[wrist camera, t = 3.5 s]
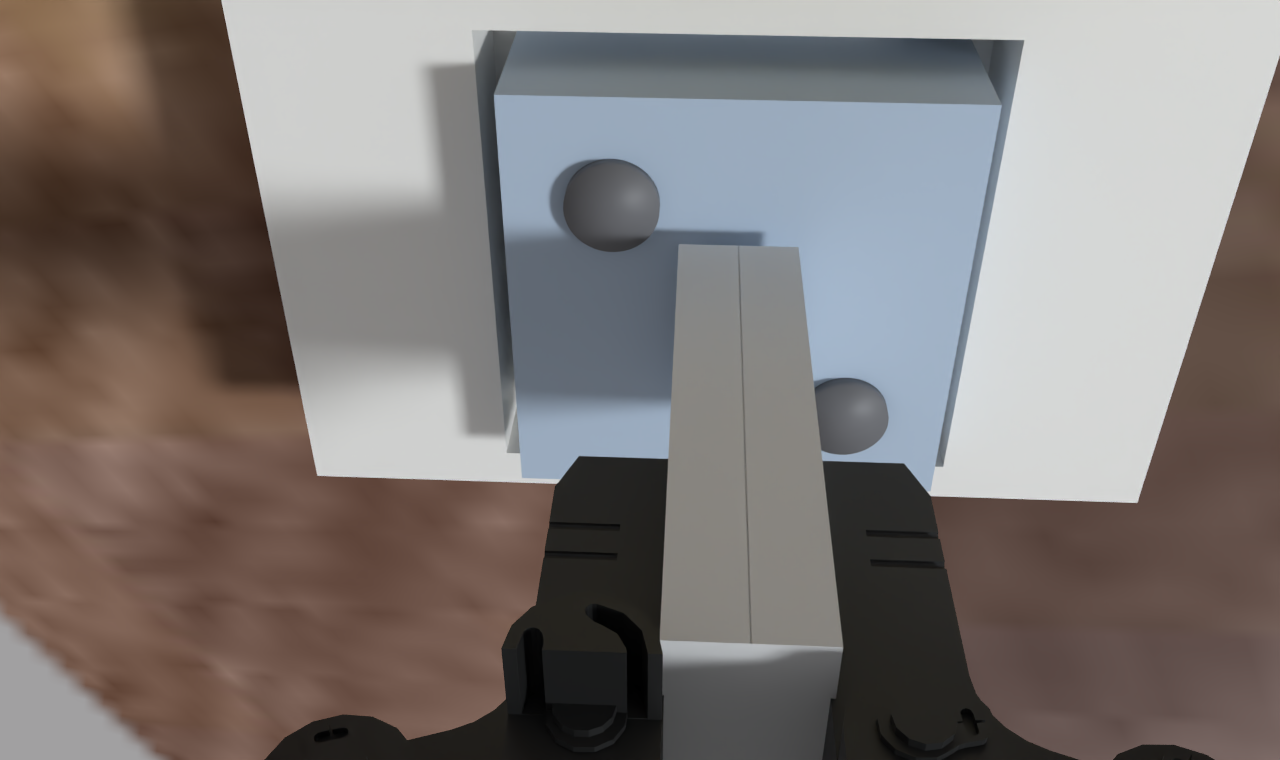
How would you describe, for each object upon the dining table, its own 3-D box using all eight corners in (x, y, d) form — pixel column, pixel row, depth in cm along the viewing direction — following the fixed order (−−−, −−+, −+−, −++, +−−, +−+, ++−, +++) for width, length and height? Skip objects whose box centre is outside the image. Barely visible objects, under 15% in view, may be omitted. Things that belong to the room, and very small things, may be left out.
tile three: (520, 21, 17) (490, 101, 14) (966, 29, 16) (1005, 112, 14) (540, 378, 20) (520, 486, 18) (908, 389, 20) (932, 500, 18)
